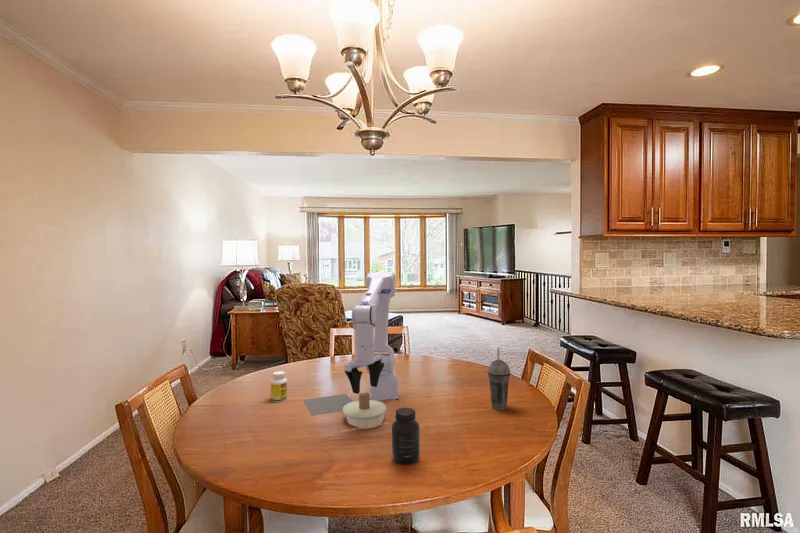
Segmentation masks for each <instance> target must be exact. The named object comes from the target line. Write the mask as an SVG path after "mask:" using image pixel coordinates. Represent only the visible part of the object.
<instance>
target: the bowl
mask: <svg viewBox="0 0 800 533" xmlns="http://www.w3.org/2000/svg"><path fill="white" fill-rule="evenodd" d="M384 420H385V413H384V414H383V415H381V416H379V417H376V418H372V419H352V418H349V417H346V421H347V423H348V424H349V425H351V426H354V427H355V429H358V430H359V429H360V430H362V429H364V430H367V429H373V428H378V427H379V426H381V425H383V423H384Z"/></svg>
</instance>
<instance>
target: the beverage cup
mask: <svg viewBox="0 0 800 533" xmlns="http://www.w3.org/2000/svg"><path fill="white" fill-rule="evenodd" d="M496 349H497V359H495V360H493V361H492V362H490V364H489V366H488V369H487V376H488V380H489V390H490V401H491V408H492V409H493V410H495V411H505V410H506V409H507V406H508V397H509V396H508V394H509V385H510V384H509V381H510V378H511V374H512V373H511V369H510V366H509V365H508V363H507V362H505V361H504V360H501V359H500V347H497V348H496Z"/></svg>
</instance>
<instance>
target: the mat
mask: <svg viewBox="0 0 800 533" xmlns="http://www.w3.org/2000/svg"><path fill="white" fill-rule="evenodd" d="M303 402H304V404H305V406H306V407H307V408H306V409H307V410H308V412H309V414H310V416H317V415H318V416H319V415H324V414H330V413H331V414H332V413H337V412H343V407H344V406H345V405H346V404H348V403H350V402H353V400H352V399H351V398H350V397H349V396H348V394H347V393H342V394H341V393H340V394H334V395H333V394H332V395H328V396H327V395H326V396H321V397H314V398H312V397H311V398H306V399H303Z"/></svg>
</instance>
